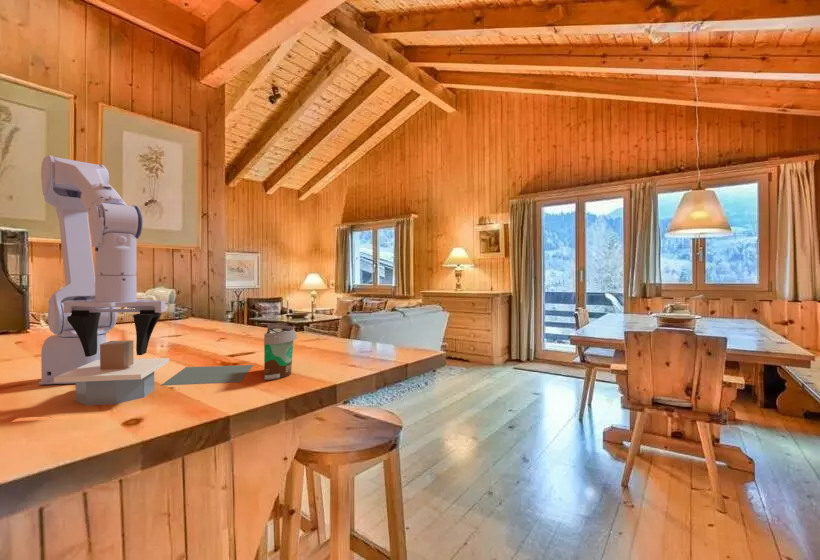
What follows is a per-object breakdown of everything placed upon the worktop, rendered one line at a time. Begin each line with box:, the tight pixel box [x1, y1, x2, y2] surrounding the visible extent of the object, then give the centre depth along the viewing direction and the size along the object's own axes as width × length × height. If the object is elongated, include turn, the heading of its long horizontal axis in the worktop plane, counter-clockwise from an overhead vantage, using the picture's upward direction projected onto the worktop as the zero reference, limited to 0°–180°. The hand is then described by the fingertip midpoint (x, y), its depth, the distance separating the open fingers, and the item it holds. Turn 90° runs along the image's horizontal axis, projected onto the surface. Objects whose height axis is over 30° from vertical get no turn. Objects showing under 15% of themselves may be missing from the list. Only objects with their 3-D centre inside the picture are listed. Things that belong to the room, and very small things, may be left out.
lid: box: [54, 339, 170, 383], centre depth 69 cm, size 12×12×5 cm
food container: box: [263, 324, 298, 382], centre depth 84 cm, size 12×6×10 cm, turn 16°
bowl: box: [75, 371, 155, 407], centre depth 69 cm, size 10×10×4 cm
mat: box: [161, 364, 254, 386], centre depth 83 cm, size 14×14×1 cm
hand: (116, 354), depth 69 cm, fingers open, 7 cm apart
